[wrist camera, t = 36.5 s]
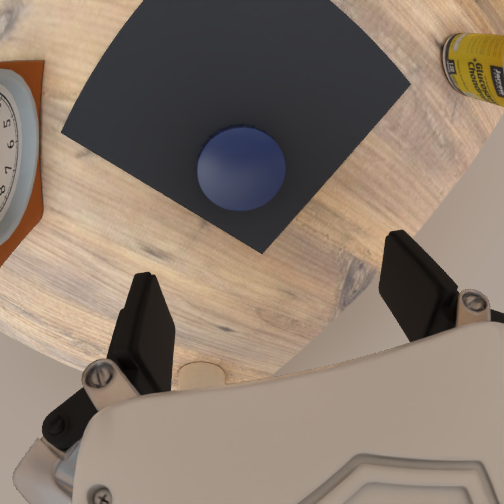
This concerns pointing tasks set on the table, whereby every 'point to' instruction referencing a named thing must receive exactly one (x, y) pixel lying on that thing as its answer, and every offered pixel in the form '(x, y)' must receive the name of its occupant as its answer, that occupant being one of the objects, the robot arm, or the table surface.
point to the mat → (235, 97)
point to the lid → (240, 168)
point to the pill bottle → (476, 65)
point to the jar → (200, 376)
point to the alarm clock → (19, 152)
